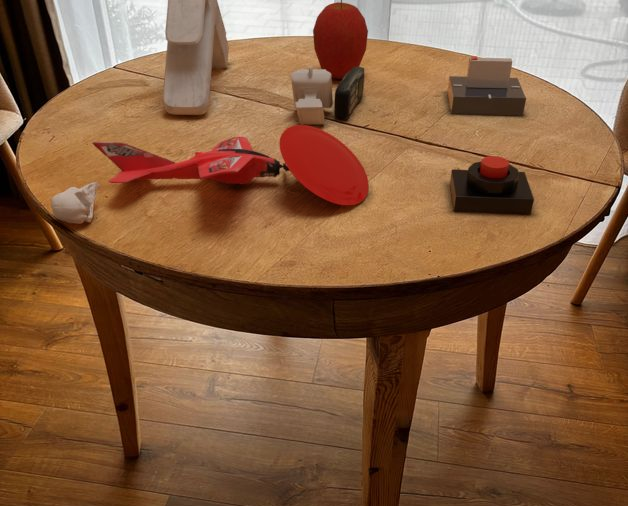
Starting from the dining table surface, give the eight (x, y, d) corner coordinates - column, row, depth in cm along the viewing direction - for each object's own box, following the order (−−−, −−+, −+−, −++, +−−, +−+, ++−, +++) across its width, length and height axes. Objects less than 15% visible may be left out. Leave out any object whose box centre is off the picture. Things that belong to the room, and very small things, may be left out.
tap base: (513, 93, 121) (517, 75, 119) (523, 117, 113) (527, 98, 111) (447, 91, 122) (449, 74, 120) (451, 115, 114) (453, 96, 112)
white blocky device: (290, 56, 108) (285, 96, 105) (331, 56, 108) (328, 96, 104) (296, 97, 117) (291, 136, 113) (334, 98, 116) (331, 136, 112)
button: (505, 168, 90) (507, 156, 89) (508, 180, 88) (511, 168, 86) (478, 167, 90) (480, 155, 89) (480, 179, 88) (483, 167, 87)
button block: (521, 186, 94) (527, 159, 91) (530, 214, 88) (537, 186, 85) (449, 183, 95) (453, 156, 92) (453, 211, 89) (457, 183, 86)
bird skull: (118, 192, 89) (107, 168, 86) (87, 234, 85) (74, 210, 82) (83, 186, 91) (71, 162, 88) (51, 226, 87) (37, 202, 84)
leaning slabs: (186, 158, 130) (153, 96, 107) (195, 42, 133) (165, -42, 111) (225, 159, 129) (201, 96, 107) (233, 43, 133) (211, -42, 111)
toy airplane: (302, 210, 83) (305, 169, 81) (75, 205, 79) (70, 162, 77) (283, 168, 107) (284, 135, 105) (107, 162, 103) (104, 128, 101)
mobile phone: (350, 92, 108) (368, 60, 119) (332, 90, 109) (352, 59, 120) (349, 121, 112) (367, 88, 122) (332, 120, 112) (351, 87, 123)
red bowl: (382, 172, 96) (359, 199, 100) (304, 108, 94) (284, 139, 98) (350, 220, 86) (326, 248, 90) (264, 150, 84) (243, 182, 89)
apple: (303, 73, 130) (302, -6, 121) (346, 64, 134) (349, -13, 125) (331, 90, 123) (332, 7, 114) (376, 80, 127) (381, -1, 118)
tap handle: (506, 85, 116) (511, 56, 113) (507, 88, 115) (513, 59, 112) (465, 84, 116) (469, 55, 113) (466, 87, 115) (470, 58, 112)
